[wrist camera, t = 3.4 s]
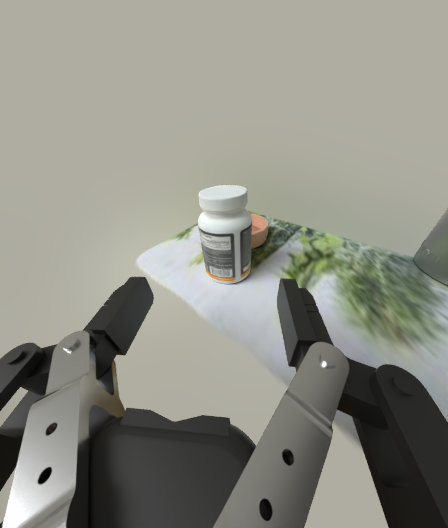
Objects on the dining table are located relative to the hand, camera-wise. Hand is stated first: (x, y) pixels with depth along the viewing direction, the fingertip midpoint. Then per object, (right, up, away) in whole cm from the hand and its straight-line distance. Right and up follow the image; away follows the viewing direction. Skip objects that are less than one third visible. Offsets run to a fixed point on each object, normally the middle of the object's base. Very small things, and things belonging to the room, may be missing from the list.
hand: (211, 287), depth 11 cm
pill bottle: (+1, 0, +12) cm, 12 cm away
